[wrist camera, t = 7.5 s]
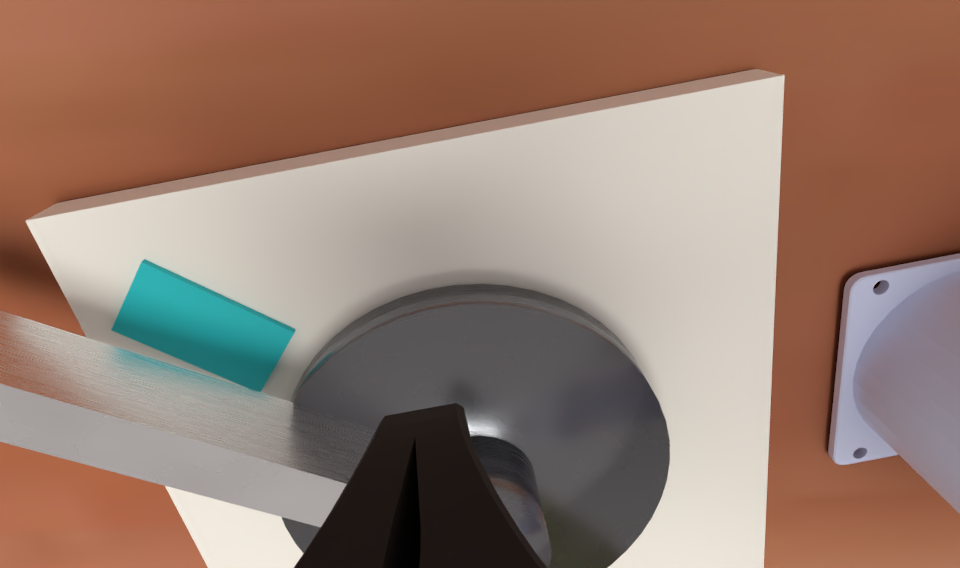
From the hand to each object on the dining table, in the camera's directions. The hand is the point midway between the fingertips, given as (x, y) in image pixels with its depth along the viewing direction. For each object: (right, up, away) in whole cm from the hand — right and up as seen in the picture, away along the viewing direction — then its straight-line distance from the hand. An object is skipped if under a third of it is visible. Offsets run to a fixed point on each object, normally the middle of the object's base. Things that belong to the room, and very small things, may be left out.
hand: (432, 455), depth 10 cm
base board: (0, -2, +11) cm, 11 cm away
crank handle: (-4, -1, +8) cm, 9 cm away
